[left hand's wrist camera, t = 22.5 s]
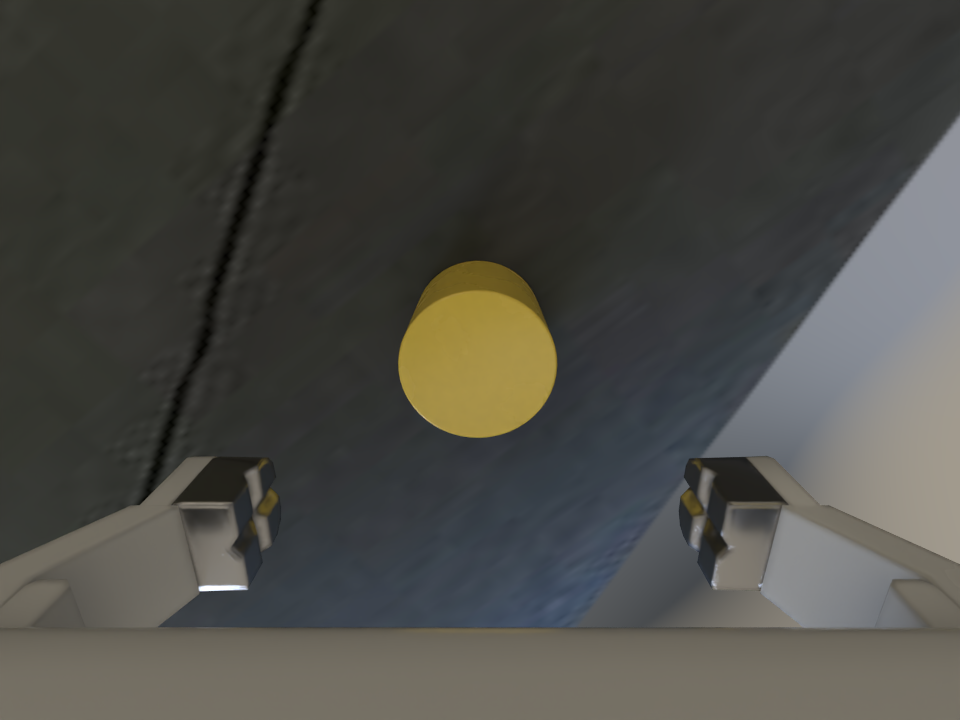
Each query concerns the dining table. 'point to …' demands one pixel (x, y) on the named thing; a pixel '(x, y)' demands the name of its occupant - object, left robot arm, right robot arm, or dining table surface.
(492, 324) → the yellow cylinder
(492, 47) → the dining table surface
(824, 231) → the dining table surface
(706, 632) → the left robot arm
